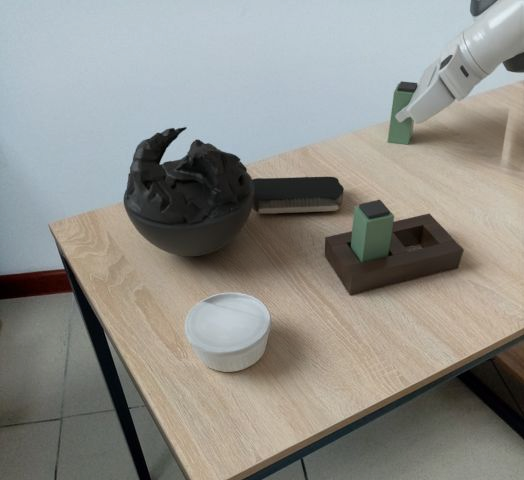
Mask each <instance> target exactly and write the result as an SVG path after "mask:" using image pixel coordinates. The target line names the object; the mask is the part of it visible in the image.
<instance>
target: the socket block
mask: <svg viewBox="0 0 524 480" xmlns="http://www.w3.org/2000/svg"><path fill="white" fill-rule="evenodd" d="M351 239H352V230H351V231H347V232H343V233H338V234H334V235H333V234H332V235H329V236H325V237H324V253H323V254H324V257H325V259H326V260H327V262H328V263H329V265H330V267H331V268H332V269H333V271H334V273H335V274H336V276H337V278H338V279H339V280H340V282H341V284H342V285H343V287H344V288H345V290H346V291H347V293H348V295H349V296H353V295H357V294H361V293H365V292H369V291H374V290H376V289H380V288H384V287H388V286H392V285H393V286H394V285H396V284H400V283H404V282H409V281H412V280H417V279H421V278H425V277H429V276H431V275H436V274H440V273H444V272H447V271H452V270H456V269H459V267H460V264H461V260H462V259H463V255H464V254H463V253H464V248H463V247H462V246H461V245H460V244H459V242H457V241H456V239H454V237H453V236H452V235H451V234H450V233H448V231H447V230H446V229H445V228H444V227H443V226H442V225H441V224H440V223H439V222H438V221H437V219H435V217H433V215H432V214H431V213H424V214H421V215H420V214H419V215H417V216H412V217H408V218H407V217H406V218H403V219H399V220H394V221H393V227H392V234H391V240H390V246H389V253H388V257H384V258H380V259H376V260H371V261H367V262H363V263H360V262H359V260H358V259H357V257H356V256H355V255H354V253H353V252H352V250H351ZM417 244H420V245H421V248H417V249H412V250H408V249H407V248H406V247H408V246H413V245H417Z"/></svg>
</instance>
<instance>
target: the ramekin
mask: <svg viewBox="0 0 524 480" xmlns="http://www.w3.org/2000/svg"><path fill="white" fill-rule="evenodd" d="M271 328H272V316H271V312H270V310H269V307H268V306H266V304H265V303H264V302H262V300H260V299H259V298H257V297H255V296H253V295H250V294H246V293H244V292H243V293H242V292H233V291H232V292H231V291H229V292H228V291H227V292H222V293H217V294H213V295H210V296H207V297H205V298H203V299H201V300H200V301H198V302H197V303H196V304H194V306H193V307H192V308H191V309H190V310H189V311H188V313H187V315H186V317H185V320H184V332H185V336H186V340H187V341H188V343H189V345H191V347H192V349H193V351H194V353H195V355H196V357H197V358H198V361H200V362H201V363H202V364H203V365H204V366H207V367H208V368H210V369H211V370H214V371H217V372H224V373H226V372H227V373H232V372H239V371H243V370H245V369H247V368H249V367H251V366H253V365H255V364H256V363H257V362H258V361H259V360H260V359H261V358H262V356H264V353H265V351H266V348H267V344H268V340H269V339H268V338H269V334H270V332H271Z"/></svg>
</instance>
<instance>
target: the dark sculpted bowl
mask: <svg viewBox="0 0 524 480" xmlns="http://www.w3.org/2000/svg"><path fill="white" fill-rule="evenodd" d="M185 130H187V126H184V127H179V128H176V129H175V127H169V128H166V129H165V130H163V131H162V132H156V133H155V134H153V135H152V136H151V137H149V138H146V139H143V140H141V141H140V142H139V144H137V146H136V148H135V150H134V152H133V155H132V162H131V164H130V167H129V173H128V174H127V175H128V176H127V182H126V189H125V191H124V194H123V207H124V209H125V213H126V214H127V216H128V219H129V220H130V222H131V223H132V225H133V227H134V229H136V230H137V232H138V233H139V234H140V235H141V236H142V237H143V238H144V239H145V240H146V241H147V242H149V243H150V244H151V245H153V246H155V248H158V249H160V250H161V251H163V252H166V253H168V254H172V255H176V256H181V257H199V256H200V257H201V256H205V255H209V254H211V253H214V252H216V251H219V250H221V249H223V248H224V247H226V246H227V245H228V244H230V243H231V242H232V241H233V240H235V238H237V237H238V235H239V234H240V233H241V232H242V230H243V229H244V227H245V225H246V224H247V222H248V220H249V217H250V214H251V212H252V210H253V208H252V206H253V201H254V183H253V180H252V179H253V178H252V176H251V175H250V174H249V172H248V171H247V170H248V168H247V167H246V166H245V165H244V163H242V161H241V158H240V157H239V156H237V155H236V154H233V153H230V152H226V151H222V150H221V149H219V148H218V147H216V146H215V145H213V144H212V143H210V142H207V143H204V141H202V140H200V139H198V138H197V139H195V140H192V142H191V144H190V147H189V150H188V151H187V153H186V155H184V156H183V157H182V158H180V159H176V160H168V161H164V162H163V163H161V161H162V159H163V157H164V155H165V153H166V151H167V149H168V148H169V146H171V144H172V143H173V142H174V141H176V139H178V137H179V136H180V135H181V133H183V132H184V131H185Z"/></svg>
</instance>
